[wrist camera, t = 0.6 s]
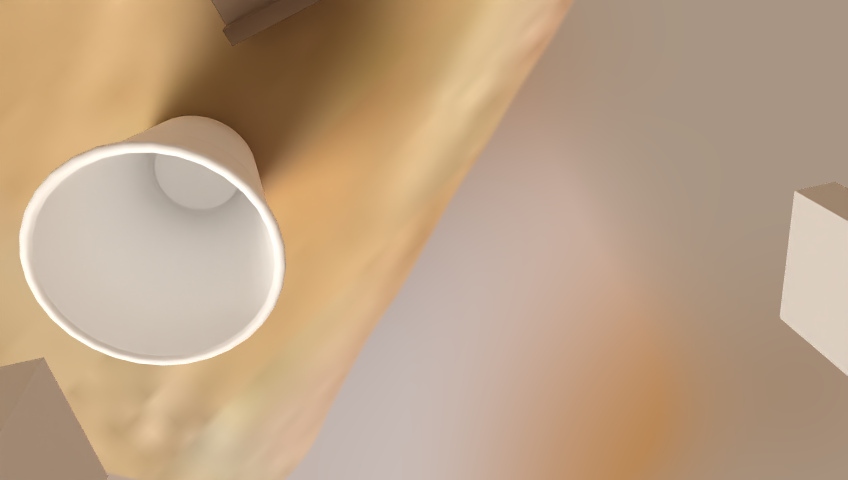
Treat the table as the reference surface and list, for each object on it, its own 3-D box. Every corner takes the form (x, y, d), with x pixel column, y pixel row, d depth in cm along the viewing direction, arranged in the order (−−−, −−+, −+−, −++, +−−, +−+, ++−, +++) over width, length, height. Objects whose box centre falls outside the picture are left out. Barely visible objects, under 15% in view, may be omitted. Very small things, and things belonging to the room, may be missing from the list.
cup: (251, 52, 33) (227, 107, 24) (317, 220, 38) (319, 324, 28) (64, 110, 33) (-39, 190, 23) (152, 272, 38) (97, 395, 28)
